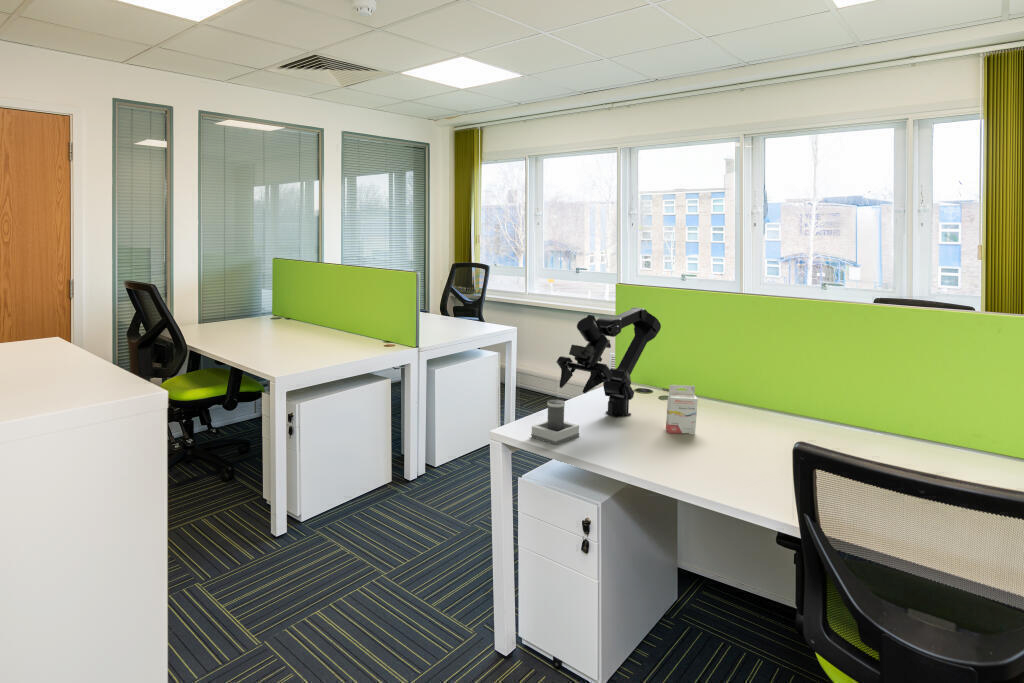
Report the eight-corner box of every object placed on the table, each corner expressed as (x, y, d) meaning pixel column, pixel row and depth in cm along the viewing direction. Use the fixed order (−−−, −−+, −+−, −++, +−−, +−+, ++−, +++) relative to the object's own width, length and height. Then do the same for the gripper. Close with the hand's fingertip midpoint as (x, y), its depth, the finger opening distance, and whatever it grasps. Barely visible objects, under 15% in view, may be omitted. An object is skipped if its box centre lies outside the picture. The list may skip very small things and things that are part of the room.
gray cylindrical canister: (562, 430, 192) (563, 399, 190) (565, 436, 187) (566, 404, 185) (545, 431, 191) (546, 399, 190) (548, 436, 186) (548, 404, 184)
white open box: (554, 429, 196) (554, 418, 196) (579, 436, 190) (579, 425, 189) (531, 437, 189) (531, 426, 188) (556, 444, 182) (556, 433, 181)
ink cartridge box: (667, 433, 193) (670, 388, 191) (665, 428, 198) (668, 384, 195) (695, 434, 192) (698, 389, 190) (692, 429, 197) (695, 385, 195)
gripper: (560, 331, 199) (537, 370, 193) (608, 338, 187) (584, 380, 181) (575, 352, 206) (553, 390, 200) (622, 360, 194) (600, 401, 188)
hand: (571, 389), depth 192 cm, fingers open, 9 cm apart
